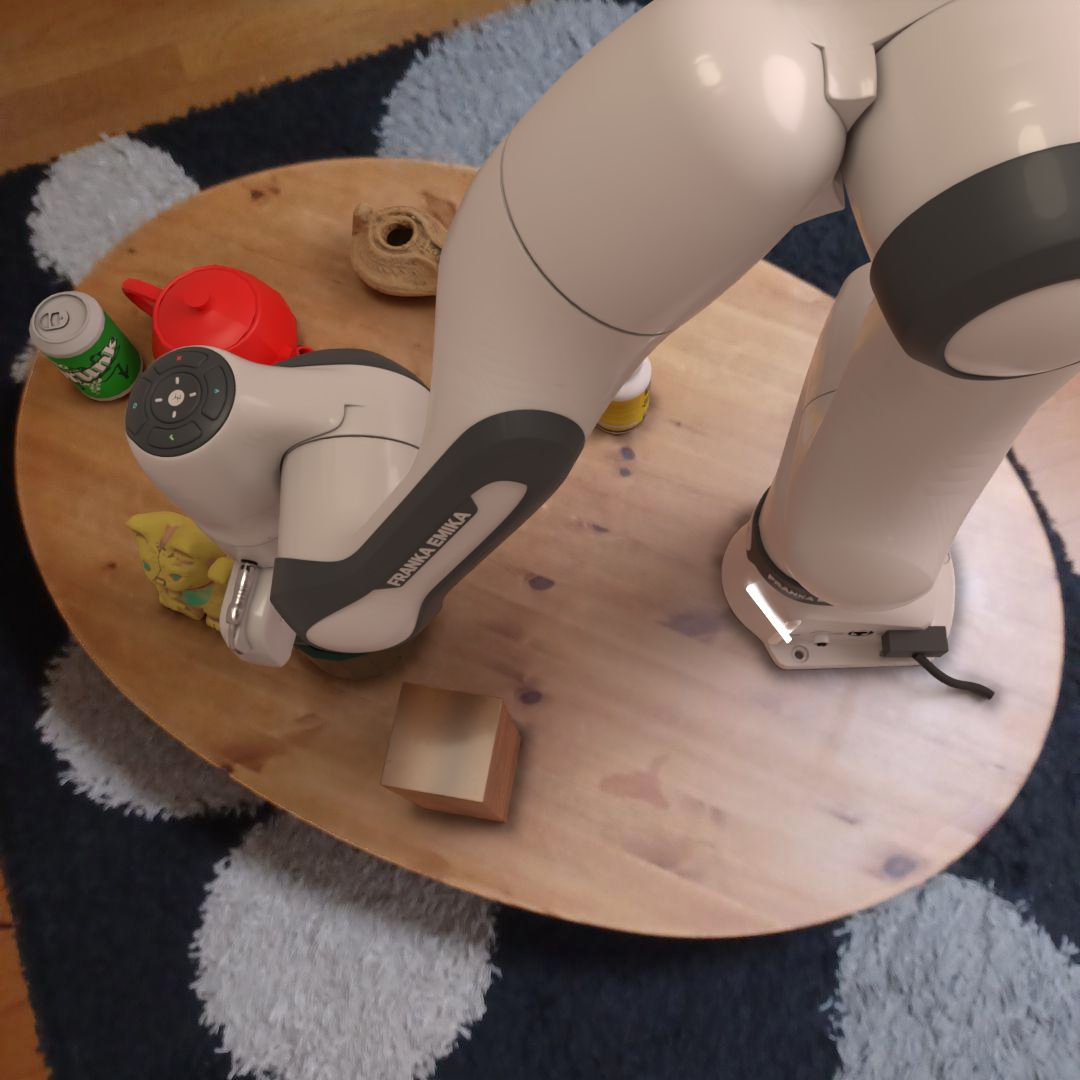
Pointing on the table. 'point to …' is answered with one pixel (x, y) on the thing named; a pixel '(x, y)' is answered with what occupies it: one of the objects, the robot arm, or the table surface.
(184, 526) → the figurine
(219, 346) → the teapot
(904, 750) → the table surface
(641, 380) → the pill bottle
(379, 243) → the oil lamp
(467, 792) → the stand
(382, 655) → the tin
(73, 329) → the soda can
